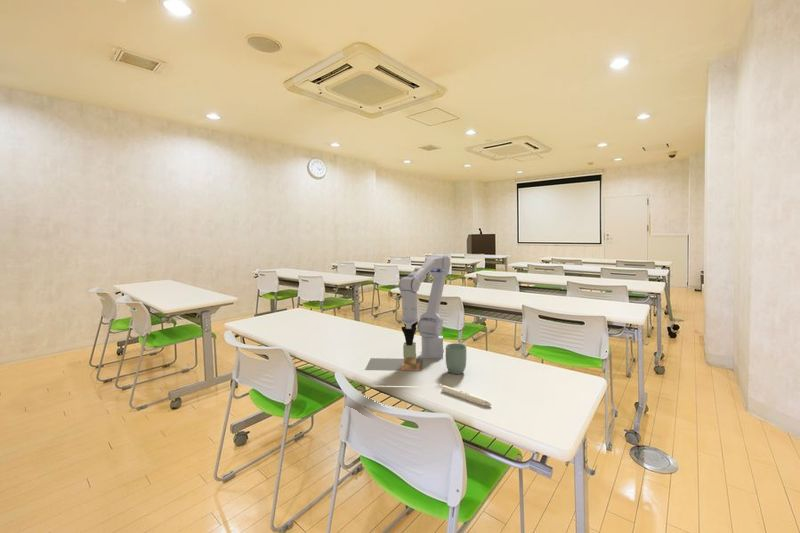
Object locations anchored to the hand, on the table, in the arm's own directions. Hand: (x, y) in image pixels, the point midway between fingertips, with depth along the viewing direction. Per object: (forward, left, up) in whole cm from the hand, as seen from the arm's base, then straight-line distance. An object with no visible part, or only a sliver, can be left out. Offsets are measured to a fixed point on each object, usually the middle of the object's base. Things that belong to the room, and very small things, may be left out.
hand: (410, 342), depth 140 cm
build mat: (+6, -2, -10) cm, 13 cm away
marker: (-19, +25, -11) cm, 34 cm away
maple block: (0, 0, -10) cm, 10 cm away
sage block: (0, 0, -5) cm, 5 cm away
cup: (-18, +4, -11) cm, 21 cm away
